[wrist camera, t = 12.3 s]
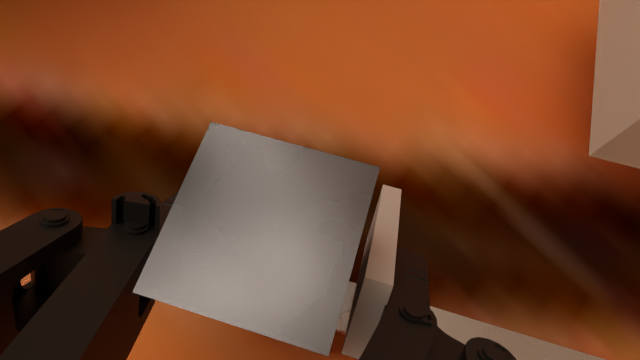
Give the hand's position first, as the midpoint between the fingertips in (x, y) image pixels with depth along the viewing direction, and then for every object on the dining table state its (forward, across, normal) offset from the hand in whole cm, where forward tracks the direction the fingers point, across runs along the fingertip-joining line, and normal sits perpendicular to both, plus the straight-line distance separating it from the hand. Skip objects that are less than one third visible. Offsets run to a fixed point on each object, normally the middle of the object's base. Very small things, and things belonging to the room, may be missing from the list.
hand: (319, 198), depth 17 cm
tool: (0, +7, -5) cm, 9 cm away
